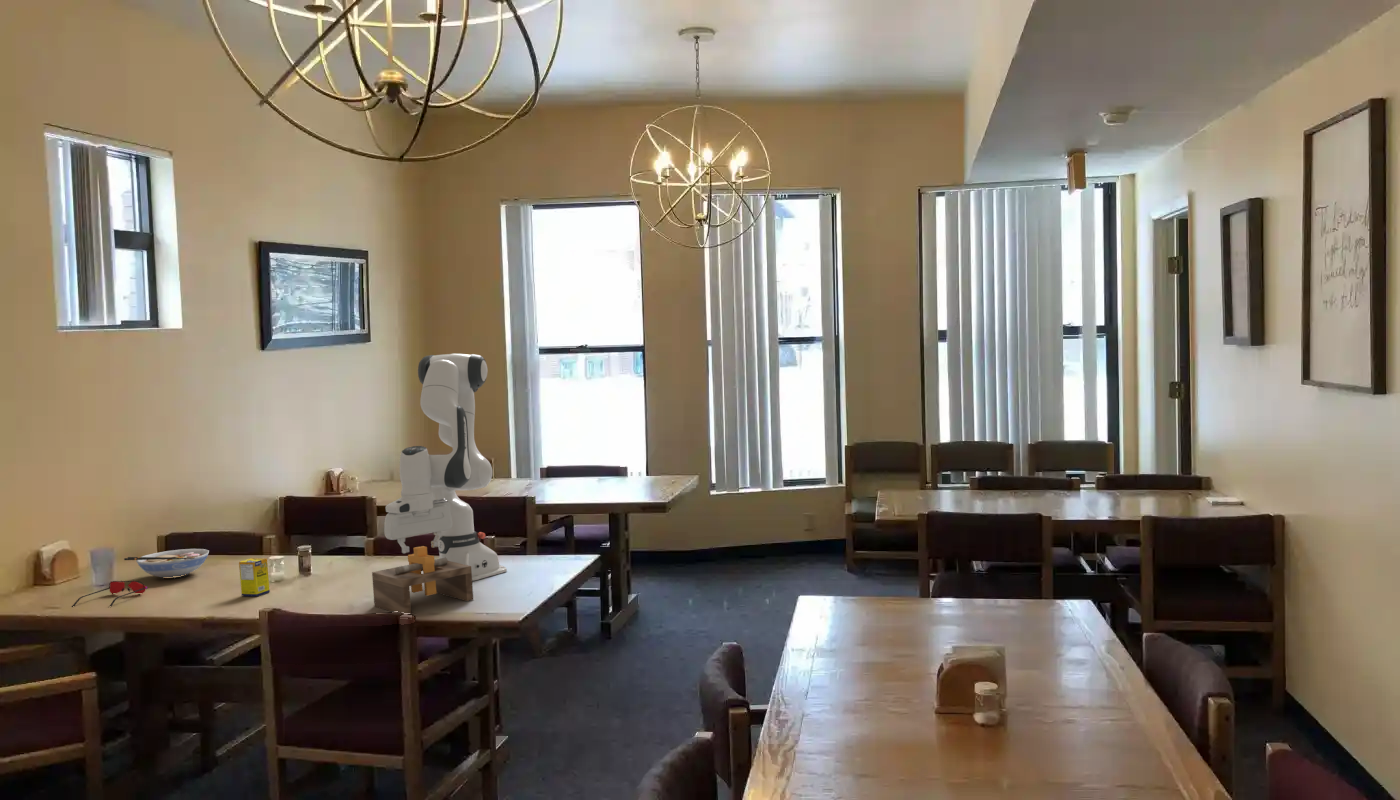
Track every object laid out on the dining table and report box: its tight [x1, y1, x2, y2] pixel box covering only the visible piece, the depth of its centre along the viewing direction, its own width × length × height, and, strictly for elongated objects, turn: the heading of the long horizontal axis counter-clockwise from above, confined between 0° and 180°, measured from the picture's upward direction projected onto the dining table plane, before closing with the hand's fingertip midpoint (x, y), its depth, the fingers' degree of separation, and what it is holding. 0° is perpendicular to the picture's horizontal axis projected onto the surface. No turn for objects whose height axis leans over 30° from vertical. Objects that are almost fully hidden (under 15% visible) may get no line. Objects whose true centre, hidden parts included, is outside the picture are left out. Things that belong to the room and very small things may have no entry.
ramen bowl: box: [123, 548, 210, 578], centre depth 376 cm, size 25×23×8 cm
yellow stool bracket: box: [407, 545, 438, 596], centre depth 320 cm, size 3×10×13 cm, turn 43°
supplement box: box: [238, 557, 271, 597], centre depth 342 cm, size 6×6×11 cm
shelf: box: [371, 557, 474, 614], centre depth 320 cm, size 22×18×12 cm
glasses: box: [71, 580, 148, 608], centre depth 344 cm, size 14×16×5 cm
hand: (420, 550), depth 319 cm, fingers open, 8 cm apart
